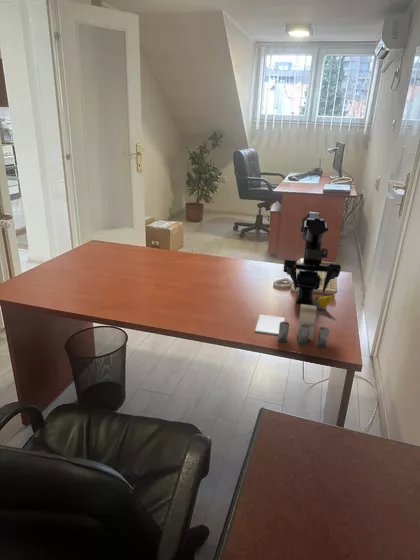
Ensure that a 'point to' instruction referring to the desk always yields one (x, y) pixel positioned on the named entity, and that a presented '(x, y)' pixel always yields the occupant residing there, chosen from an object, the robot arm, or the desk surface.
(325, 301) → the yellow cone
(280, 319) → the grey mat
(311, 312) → the birch block
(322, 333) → the block
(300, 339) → the cylinder
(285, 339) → the steel spacer
